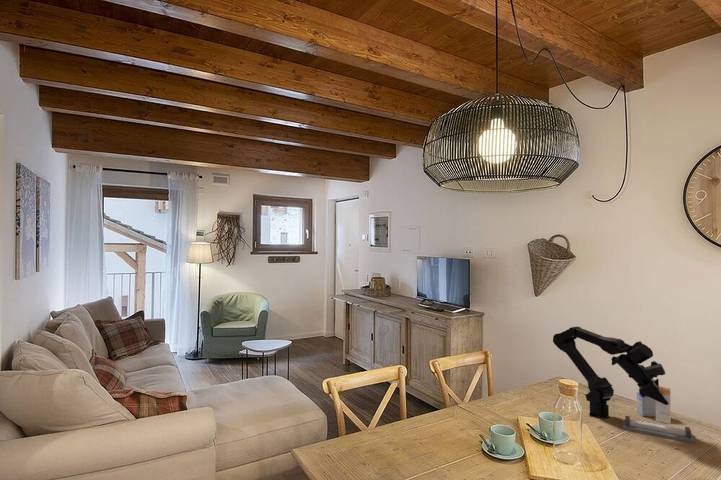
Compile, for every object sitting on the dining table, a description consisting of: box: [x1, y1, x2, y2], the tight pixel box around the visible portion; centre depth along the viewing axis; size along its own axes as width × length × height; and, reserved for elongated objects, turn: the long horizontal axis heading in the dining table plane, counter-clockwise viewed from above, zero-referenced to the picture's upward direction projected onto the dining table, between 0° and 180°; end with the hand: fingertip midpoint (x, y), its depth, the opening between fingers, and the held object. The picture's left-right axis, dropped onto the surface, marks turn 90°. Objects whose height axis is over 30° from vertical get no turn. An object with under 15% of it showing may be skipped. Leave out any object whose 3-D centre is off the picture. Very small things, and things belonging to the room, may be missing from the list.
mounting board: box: [622, 415, 695, 444], centre depth 160 cm, size 22×8×3 cm, turn 56°
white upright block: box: [655, 385, 672, 425], centre depth 158 cm, size 4×8×12 cm, turn 144°
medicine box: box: [636, 392, 656, 417], centre depth 176 cm, size 8×4×9 cm, turn 84°
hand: (667, 402), depth 157 cm, fingers closed on white upright block, 4 cm apart
